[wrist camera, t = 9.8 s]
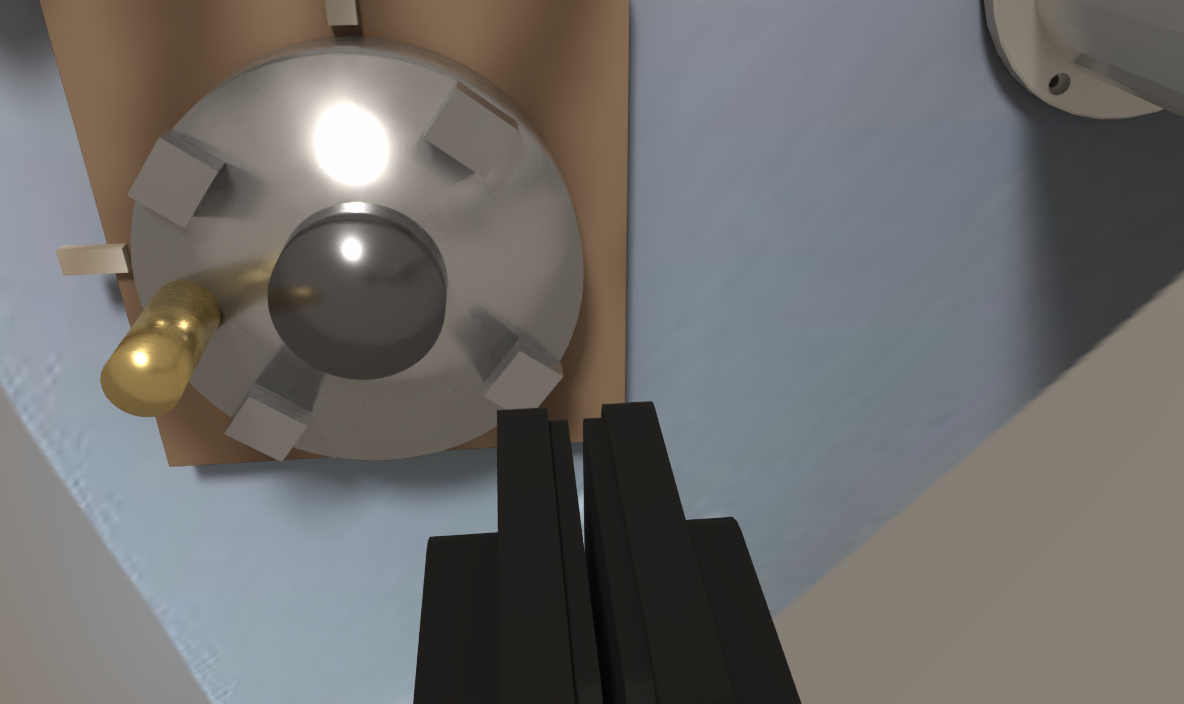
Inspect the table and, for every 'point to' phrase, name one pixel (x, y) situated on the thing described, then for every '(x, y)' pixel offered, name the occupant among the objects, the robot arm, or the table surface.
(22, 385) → the table surface
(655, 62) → the table surface
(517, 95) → the wooden board
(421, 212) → the lugged metal disc
